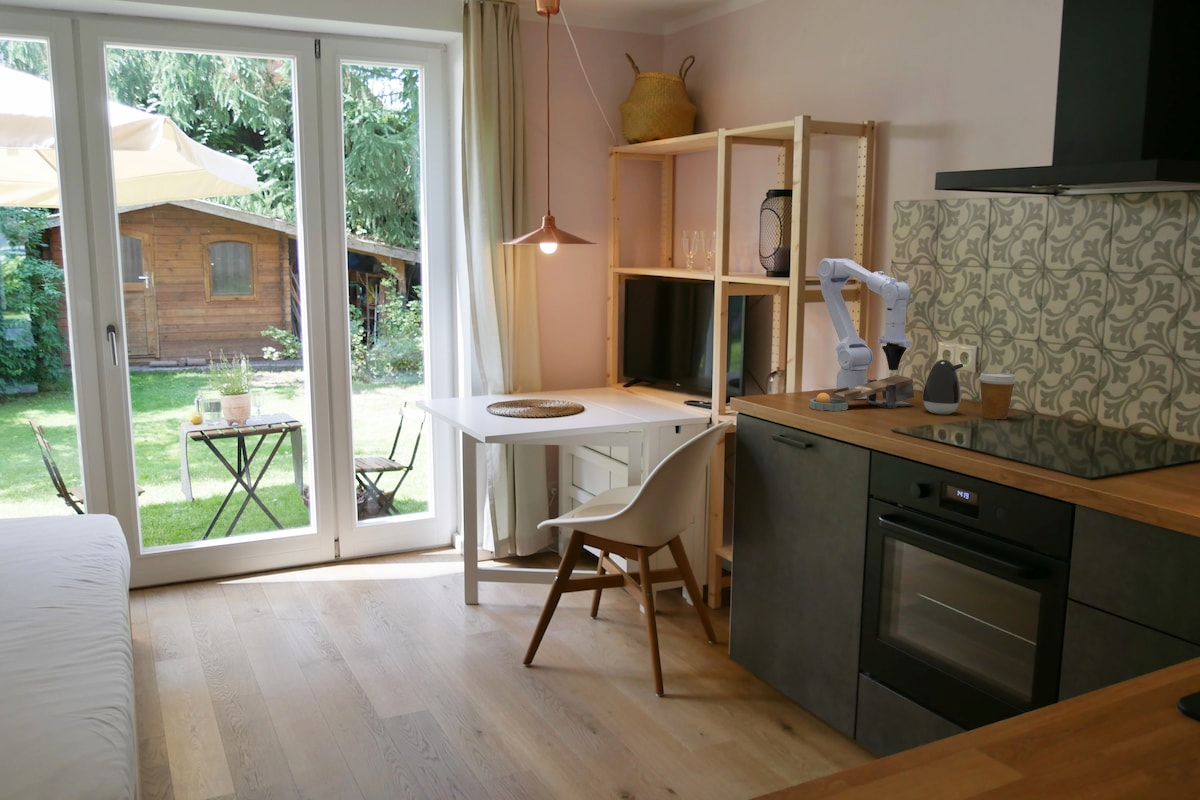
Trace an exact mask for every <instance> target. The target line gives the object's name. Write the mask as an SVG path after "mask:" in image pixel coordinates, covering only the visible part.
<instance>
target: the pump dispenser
mask: <svg viewBox="0 0 1200 800" xmlns="http://www.w3.org/2000/svg"><path fill="white" fill-rule="evenodd" d="M963 367H964V364H963V363H959V364H953V363H952V362H951V361H950V360H948V359H939V360H937V361H936V362H935V363H934V364H933V366H932V367H931V369H930V371H929V373H928V375H927V377H926V379H925V382H924V383H925V384H924V386H923V387H924V388H923V392H922V401H923V405H924V408H925V409H926V410H927V411H928V412H929V413H931V414H934V413H935V415H951V414H953V413H955V412H956V410H957V409H958V407H959V405H960V403H961V401H962V399H961V398H962V395H961V394H962V392H961V384H960V379H959V376H958V372H957V371H958V370H959V369H961V368H963Z"/></svg>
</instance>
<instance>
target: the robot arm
mask: <svg viewBox="0 0 1200 800" xmlns="http://www.w3.org/2000/svg"><path fill="white" fill-rule="evenodd" d="M816 274H817V277H818V279H819V282H820V290H821V295H822V297H823V300H824V302H825V305H826V309H827V310H828V313H829V317H830V319H831V321H832V323H833V326H834V328H835V332H836V334H837V337H838V339H839V343H838V345H837V346H836V348H835V350H836V353H837V362H838V364H839V367H841V368H840V369H839V370H838V372H837V373H836V380H835V381H836V382H835V383H836V384H835V385H836V386H835V390H836V389H840V388H844V387H849V388H853V387H856V386H860V385H863V384H867V376H868V375H867V373H868V370H869V366H870V365H871V364H872V363H873V360H874V353H873V351H872V349H871V348H870V347H869V346H868V345H867V341H865V340H864V339H863V338H862V337H860V336H859V335H858V333H857V330H856V328H855V326H854V322H853V320H852V317H851V315H850V313H849V309H848V308H847V305H846V302H845V300H844V297H843V295H842V292H841V291H842V288H844V287H845V285H846V284H847V282H848V281H849V279H850V278H851V277H852V278H855V279H857V280H859V281H861V282H863V283H865V284H866V287H867V288H868V289H869V290H871V291H872V292H874V293H876V294H878V295H879V296H881V297H882V299H883V300H884V306H885V307H884V308H885V322H884V323H885V324H884V326H885V327H884V336H877V344H885V345H882V346H881V348H882V351H883V352H884V354H885V357H886V361H887V365H888V366H887V367H888V370H889V371H898V369H899V365H900V363H901V360H902V357H903V355H904V354H905V352H906V350H907V348H912V347H913V340H910V339H909V338H907V337H906V325H907V323H906V322H907V321H906V320H907V304H908V302H907V301H908V300H909V299H910V298H911V295H912V287H911V286H910V284H908V283H907V282H906V281H899V282H898V281H897V279H896V278H895V277H889V276H888V275H886V273H885V272H884V271H882V270H880V271H874V272H871V271H870V270H868V269H866V268H865V267H864V266H861V265H860V264H858V263H856V261H855V260H853V259H850V258H847V257H844V258H829V257H825V258H823V259H821V260H820V262H819V264H818V265H817V269H816ZM865 399H866V400H867V396H865V397H861V398H858V399H857V400H865Z"/></svg>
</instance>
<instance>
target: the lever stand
mask: <svg viewBox="0 0 1200 800" xmlns="http://www.w3.org/2000/svg"><path fill="white" fill-rule="evenodd" d="M877 380H878V379H877V378H876V379H875V378H871V379H867V383H870V382H874V381H877ZM895 397H896V384H887V385H886V399H885V400H878V399H877V393H875V394H872V395H868V396H867V399H866V402H868V403H867V404H869V403H871V404H870V405H873V404H875V405H874V406H876V405H878V406H877V407H879V406H881V408H883V407H884V408H883V409H886V408H887V410H889V409H888V408H897V407H896V406H910V407H912V403H910V402H906V401H904V400H903V401H899V402H895Z"/></svg>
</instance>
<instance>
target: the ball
mask: <svg viewBox="0 0 1200 800" xmlns="http://www.w3.org/2000/svg"><path fill="white" fill-rule="evenodd" d="M830 398H831V396H830V395H829V394H828V393H826V392H820V393H819V394H817V396H816V397H815V399H816V402H818V403H825V404H829V403H830Z"/></svg>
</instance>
